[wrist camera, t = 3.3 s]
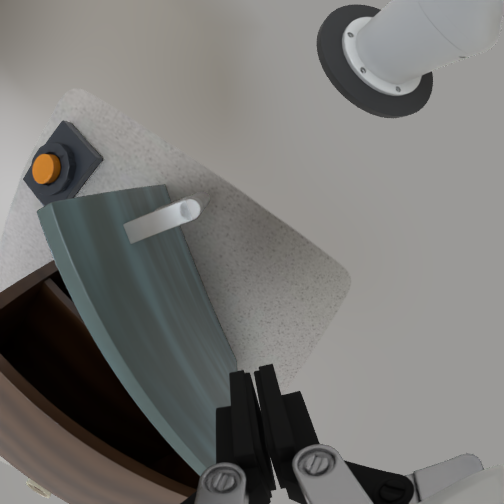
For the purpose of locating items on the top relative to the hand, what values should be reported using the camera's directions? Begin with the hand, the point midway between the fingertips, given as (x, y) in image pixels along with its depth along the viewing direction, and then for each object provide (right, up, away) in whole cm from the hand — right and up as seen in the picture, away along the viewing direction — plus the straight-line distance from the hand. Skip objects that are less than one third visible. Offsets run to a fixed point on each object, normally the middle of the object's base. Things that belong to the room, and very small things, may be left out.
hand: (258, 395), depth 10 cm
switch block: (-25, +17, +21) cm, 37 cm away
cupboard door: (-5, +2, +26) cm, 27 cm away
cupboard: (-19, -8, +28) cm, 35 cm away
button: (-25, +16, +17) cm, 34 cm away
